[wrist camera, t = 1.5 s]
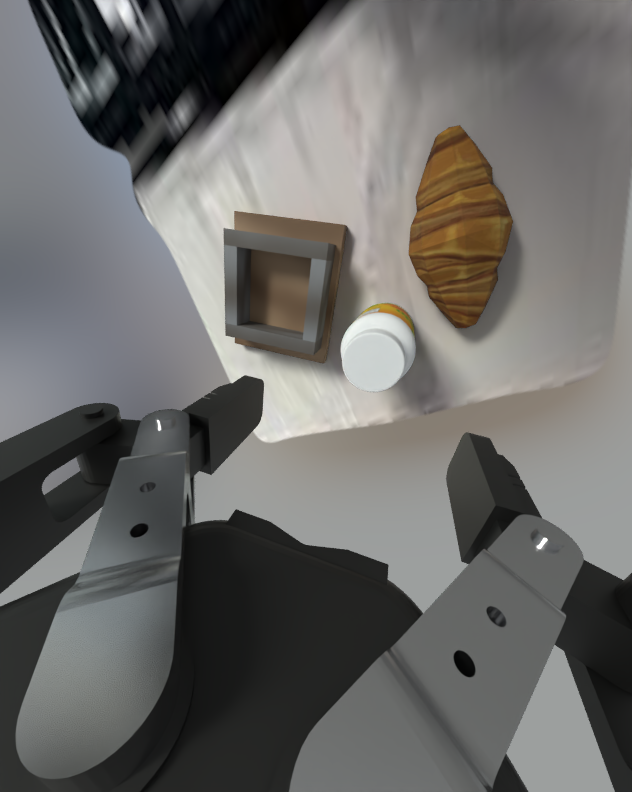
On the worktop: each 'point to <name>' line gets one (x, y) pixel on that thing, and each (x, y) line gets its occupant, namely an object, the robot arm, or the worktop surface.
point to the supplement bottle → (378, 347)
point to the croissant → (459, 228)
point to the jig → (282, 283)
